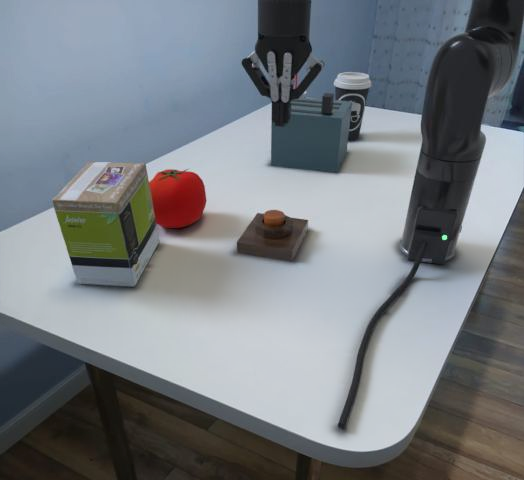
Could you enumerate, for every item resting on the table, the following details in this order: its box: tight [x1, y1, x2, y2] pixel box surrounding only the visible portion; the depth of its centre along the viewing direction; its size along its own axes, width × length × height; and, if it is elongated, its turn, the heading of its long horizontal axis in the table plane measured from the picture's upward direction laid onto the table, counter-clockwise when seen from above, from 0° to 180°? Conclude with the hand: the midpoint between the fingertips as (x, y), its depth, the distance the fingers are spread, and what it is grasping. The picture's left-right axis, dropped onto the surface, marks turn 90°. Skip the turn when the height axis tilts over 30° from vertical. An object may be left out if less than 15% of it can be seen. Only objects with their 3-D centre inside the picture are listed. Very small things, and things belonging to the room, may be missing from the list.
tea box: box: [51, 160, 160, 288], centre depth 80 cm, size 15×10×15 cm, turn 174°
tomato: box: [149, 168, 207, 229], centre depth 93 cm, size 11×13×10 cm
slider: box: [321, 92, 335, 114], centre depth 109 cm, size 3×2×4 cm
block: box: [236, 212, 309, 262], centre depth 89 cm, size 12×10×4 cm
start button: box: [263, 209, 285, 227], centre depth 87 cm, size 4×4×2 cm
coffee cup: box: [333, 71, 372, 142], centre depth 130 cm, size 10×10×15 cm
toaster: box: [270, 97, 352, 174], centre depth 118 cm, size 14×16×12 cm
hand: (281, 125), depth 80 cm, fingers closed
